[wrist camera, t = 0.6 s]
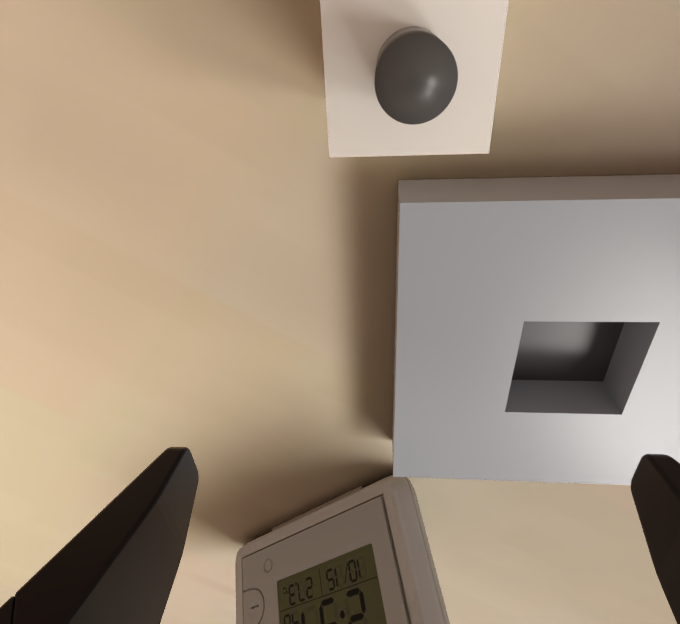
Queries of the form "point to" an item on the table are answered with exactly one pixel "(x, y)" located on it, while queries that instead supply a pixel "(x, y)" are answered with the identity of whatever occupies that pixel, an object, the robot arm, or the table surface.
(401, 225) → the socket plate
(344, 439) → the table surface
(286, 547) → the digital clock
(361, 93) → the plug
